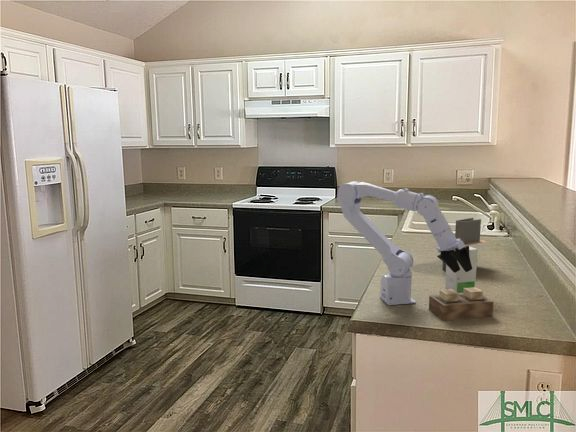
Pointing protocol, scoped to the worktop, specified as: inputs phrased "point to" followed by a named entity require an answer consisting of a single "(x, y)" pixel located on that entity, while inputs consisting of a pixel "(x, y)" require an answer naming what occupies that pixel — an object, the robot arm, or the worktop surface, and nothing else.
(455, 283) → the skincare box
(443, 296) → the peg
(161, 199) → the worktop surface
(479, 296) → the peg
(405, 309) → the worktop surface
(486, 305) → the walnut block
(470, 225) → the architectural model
